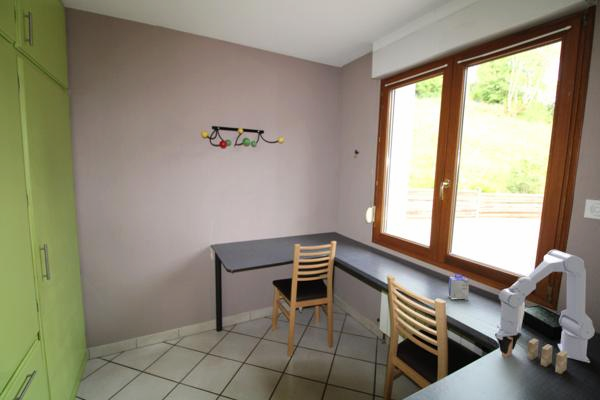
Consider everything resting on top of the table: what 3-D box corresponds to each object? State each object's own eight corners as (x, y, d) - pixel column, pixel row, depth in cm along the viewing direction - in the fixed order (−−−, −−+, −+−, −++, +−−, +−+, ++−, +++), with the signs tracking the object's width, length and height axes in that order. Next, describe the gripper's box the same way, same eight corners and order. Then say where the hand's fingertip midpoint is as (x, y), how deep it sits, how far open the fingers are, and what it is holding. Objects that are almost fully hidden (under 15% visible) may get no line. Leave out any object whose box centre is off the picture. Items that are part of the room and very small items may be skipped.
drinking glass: (501, 329, 136) (503, 299, 135) (510, 326, 139) (512, 296, 138) (516, 336, 130) (519, 305, 129) (525, 333, 133) (528, 302, 131)
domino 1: (537, 356, 116) (538, 340, 116) (531, 360, 114) (533, 343, 113) (532, 354, 118) (534, 338, 117) (527, 358, 115) (528, 341, 115)
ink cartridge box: (465, 296, 172) (466, 273, 170) (468, 301, 166) (470, 277, 165) (447, 295, 174) (448, 272, 172) (450, 299, 168) (451, 275, 167)
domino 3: (566, 369, 108) (567, 352, 108) (560, 374, 106) (562, 356, 105) (560, 367, 110) (562, 350, 109) (555, 371, 108) (556, 354, 107)
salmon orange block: (512, 353, 118) (513, 337, 118) (505, 357, 116) (507, 341, 115) (507, 351, 120) (508, 335, 119) (501, 355, 117) (502, 339, 117)
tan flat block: (551, 362, 112) (552, 346, 112) (545, 366, 110) (547, 349, 109) (546, 360, 114) (547, 344, 113) (540, 364, 111) (542, 347, 111)
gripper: (507, 310, 123) (505, 340, 125) (489, 319, 116) (487, 350, 118) (526, 317, 117) (524, 349, 118) (508, 327, 110) (506, 360, 111)
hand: (507, 350), depth 118 cm, fingers closed on salmon orange block, 5 cm apart
